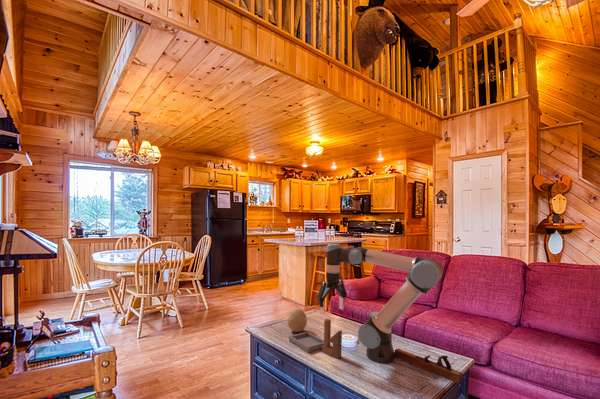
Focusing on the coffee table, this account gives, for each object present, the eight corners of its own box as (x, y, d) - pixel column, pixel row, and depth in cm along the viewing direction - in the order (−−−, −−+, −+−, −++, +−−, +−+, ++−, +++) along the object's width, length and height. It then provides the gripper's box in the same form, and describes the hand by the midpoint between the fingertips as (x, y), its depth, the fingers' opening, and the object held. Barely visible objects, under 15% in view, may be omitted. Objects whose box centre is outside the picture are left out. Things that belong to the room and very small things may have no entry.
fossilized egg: (283, 330, 203) (283, 307, 204) (297, 326, 212) (298, 304, 213) (296, 336, 194) (296, 312, 195) (310, 332, 203) (311, 308, 203)
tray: (327, 347, 179) (327, 342, 180) (307, 353, 171) (307, 347, 172) (307, 336, 195) (307, 331, 195) (288, 341, 187) (289, 336, 187)
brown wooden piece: (337, 359, 165) (338, 324, 166) (322, 352, 173) (322, 319, 174) (341, 356, 168) (342, 322, 169) (326, 350, 175) (326, 318, 176)
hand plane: (464, 380, 147) (464, 358, 147) (459, 384, 143) (459, 362, 143) (397, 355, 172) (398, 337, 172) (392, 358, 168) (393, 339, 168)
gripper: (344, 269, 183) (344, 305, 182) (310, 272, 168) (309, 312, 167) (354, 271, 177) (353, 309, 176) (319, 275, 162) (318, 316, 161)
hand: (332, 311), depth 171 cm, fingers open, 13 cm apart
